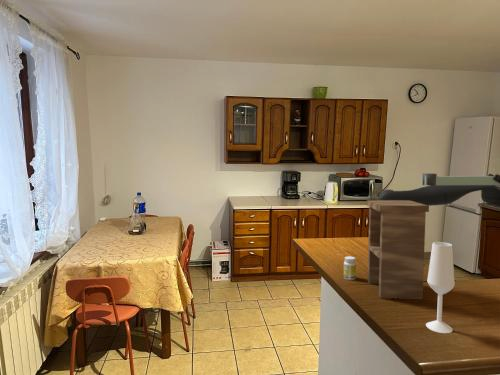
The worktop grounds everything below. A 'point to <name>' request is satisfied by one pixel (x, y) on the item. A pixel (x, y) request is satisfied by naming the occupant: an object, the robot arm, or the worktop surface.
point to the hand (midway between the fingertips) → (491, 176)
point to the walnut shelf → (397, 247)
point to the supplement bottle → (349, 268)
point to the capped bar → (457, 180)
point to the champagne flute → (441, 280)
